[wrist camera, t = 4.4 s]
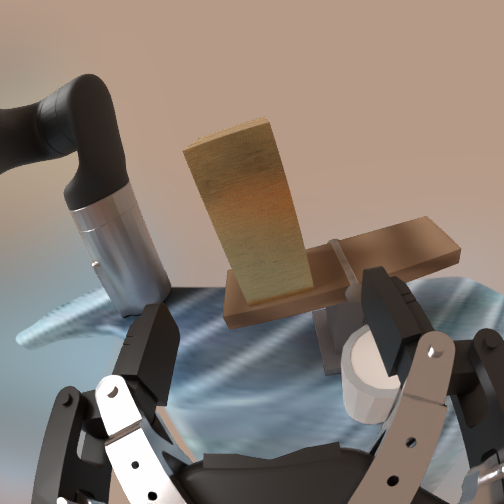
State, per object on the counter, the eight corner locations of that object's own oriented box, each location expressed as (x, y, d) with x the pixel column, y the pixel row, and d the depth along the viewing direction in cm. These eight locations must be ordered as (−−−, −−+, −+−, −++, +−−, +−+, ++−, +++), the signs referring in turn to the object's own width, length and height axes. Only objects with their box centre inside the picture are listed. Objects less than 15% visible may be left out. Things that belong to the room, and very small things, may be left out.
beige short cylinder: (355, 444, 17) (368, 415, 13) (324, 384, 22) (325, 341, 19) (421, 406, 17) (448, 365, 14) (385, 356, 23) (398, 307, 19)
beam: (424, 227, 23) (424, 213, 22) (461, 265, 17) (463, 250, 17) (233, 280, 26) (227, 267, 25) (229, 333, 20) (222, 320, 20)
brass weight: (303, 253, 24) (264, 116, 17) (314, 290, 19) (269, 122, 13) (249, 268, 24) (198, 138, 18) (249, 306, 20) (182, 151, 14)
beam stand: (354, 309, 29) (356, 249, 25) (374, 364, 23) (388, 305, 18) (312, 317, 30) (307, 258, 26) (325, 375, 23) (325, 318, 19)
